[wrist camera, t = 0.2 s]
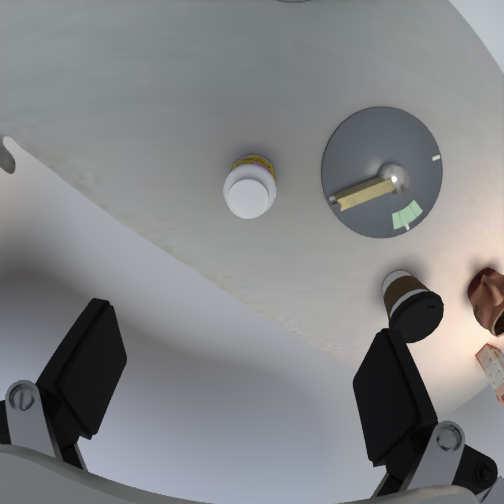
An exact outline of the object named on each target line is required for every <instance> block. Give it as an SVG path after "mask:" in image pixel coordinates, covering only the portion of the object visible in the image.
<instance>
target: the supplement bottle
mask: <svg viewBox="0 0 504 504" xmlns="http://www.w3.org/2000/svg"><path fill="white" fill-rule="evenodd" d="M276 194H277V186H276V178H275V172H274V168H273V166H272V165H271V163H270V162H269V161H268V160H267V159H266V158H264V157H262V156H259V155H247V156H244V157H242V158H240V159H239V160H238V161H237V162H236V163H235V164H234V166H233V167H232V169H231V171H230V172H229V174H228V176H227V177H226V179H225V182H224V185H223V195H224V199H225V201H226V203H227V205H228V206H229V208H230V209H231V211H232V212H233V213H234V214H235V215H237V216H239V217H241V218H245V219H252V218H256V217H258V216H260V215H261V214H263V213H264V212H266V211H267V210H268V209H269V208H270V207H271V206H272V205H273V203H274V201H275V199H276Z"/></svg>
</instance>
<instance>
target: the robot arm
mask: <svg viewBox="0 0 504 504" xmlns="http://www.w3.org/2000/svg"><path fill="white" fill-rule="evenodd" d="M281 1H287V2H301V1H307V0H281ZM126 362H127V356H126V352H125V348H124V345H123V341H122V338H121V334H120V331H119V327H118V323H117V319H116V315H115V311H114V307H113V306H111V305H110V302H109V301H107V300H102V299H97V298H93V299H92V300H91V301H90V302H89V304H88V305H87V307H86V308H85V310H84V311H83V312H82V313H81V315H80V316H79V318H78V319H77V320H76V322H75V323H74V325H73V326H72V327H71V329H70V330H69V332H68V333H67V335H66V336H65V338H64V339H63V341H62V342H61V344H60V345H59V346H58V348H57V350H56V351H55V353H54V354H53V356H52V357H51V359H50V360H49V362H48V364H47V365H46V367H45V368H44V370H43V372H42V373H41V375H40V377H39V378H38V380H37V382H36V383H35V384H34V383H32V382H31V381H28V380H19V381H17V382H15V383H13V384H12V385H11V386H10V387H9V389H8V390H7V393H6V395H5V400H3V401H0V504H211V503H204V502H197V501H191V500H185V499H180V498H175V497H170V496H165V495H161V494H156V493H152V492H148V491H144V490H141V489H137V488H134V487H130V486H127V485H124V484H121V483H117V482H115V481H112V480H109V479H106V478H103V477H100V476H98V475H95V474H92V473H90V472H88V470H87V467H86V465H85V462H84V460H83V458H82V455H81V452H80V450H79V447H78V444H77V441H78V439H79V436H81V437H84V438H86V439H89V440H91V438H92V435H95V434H97V432H98V430H99V427H100V425H101V422H102V420H103V417H104V415H105V412H106V410H107V407H108V405H109V402H110V400H111V397H112V395H113V393H114V390H115V388H116V386H117V383H118V381H119V378H120V376H121V374H122V372H123V369H124V367H125V365H126ZM353 389H354V393H355V397H356V402H357V406H358V411H359V415H360V420H361V424H362V429H363V434H364V438H365V443H366V449H367V454H368V458H369V460H370V461H372V462H373V467H377V466H382V465H386V470H387V472H386V474H385V476H384V477H383V479H382V481H381V482H380V484H379V485H378V487H377V489H376V490H375V492H374V493H373V495H372V496H371V498H370V499H364V500H358V501H352V502H345V503H338V504H504V479H503V478H502V477H501V476H499V477H497V474H498V471H497V466H496V463H495V462H494V460H492V459H491V458H490V457H488V456H486V455H484V454H482V453H480V452H478V451H477V450H475V449H473V448H471V447H469V446H467V445H466V444H465V435H464V432H463V430H462V428H461V427H460V426H459V425H458V424H456V423H455V422H452V421H443V422H440V423H438V421H437V419H438V418H437V415H436V413H435V410H434V407H433V405H432V402H431V400H430V397H429V395H428V392H427V390H426V387H425V385H424V383H423V380H422V378H421V376H420V373H419V371H418V369H417V367H416V364H415V362H414V360H413V358H412V355H411V353H410V351H409V349H408V347H407V345H406V343H405V341H404V338H403V336H402V334H401V332H400V331H399V329H397V328H383V329H382V330H381V331H380V332H378V333H377V334H376V336H375V338H374V340H373V342H372V344H371V346H370V348H369V350H368V352H367V354H366V356H365V358H364V360H363V362H362V364H361V366H360V368H359V369H358V371H357V373H356V375H355V377H354V379H353Z"/></svg>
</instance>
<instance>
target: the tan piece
mask: <svg viewBox="0 0 504 504" xmlns="http://www.w3.org/2000/svg"><path fill="white" fill-rule="evenodd" d="M409 181H410V179H409V174H408V172H407V171H406V170H405V169H404V168H402V167H400V166H398V165H396V164H394V163H385V164H383V165H382V166H381V167H380V168H379V170H378V173H377V178H374V179H372V180H369V181H367V182H364V183H362V184H359V185H357V186H354V187H352V188H349V189H347V190H344V191H342V192H339V193H337V194H334V195H333V196H334V198H335V201H336V202H334V203H331V204H332V207H333V209H334V211H336V210H338V209H340V210H341V211H343V210H345V209H348V208H350V207H353V206H355V205H358V204H360V203H363V202H365V201H368V200H370V199H373V198H375V197H378V196H380V195H383V194H385V193H388V192H389V193H391V194H394V195H399V194H402V193H403V192H405V191H406V189H407V188H408V186H409Z"/></svg>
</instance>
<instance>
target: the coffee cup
mask: <svg viewBox="0 0 504 504" xmlns="http://www.w3.org/2000/svg"><path fill="white" fill-rule="evenodd" d="M382 290H383V296H384V303H385V307H386V311H387V315H388V319H389V328H397V329H399V331H400V332H401V334H402V336H403V338H404V341H405V343H415V342H417V341H420V340H423V339H424V338H426V337H427V336H429V335H430V334H431V333H432V332H433V331H434V330H435V329H436V328H437V327H438V325H439V324H440V322H441V320H442V318H443V312H444V308H443V307H444V304H443V302H442V299H441V297H440V296H439V295H438V294H436V293H434V292H433V291H430V290H429V289H428V288H427V287H426V286H425V285H423V284H422V283H421V282H420V281H419V280H418V279H417V278H415V277H413V276H412V275H411V274H409V273H408V272H406V271H395V272H392V273H391V274H390V275H388V276H387V278H386V279H385V280H384V283H383V287H382Z"/></svg>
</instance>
